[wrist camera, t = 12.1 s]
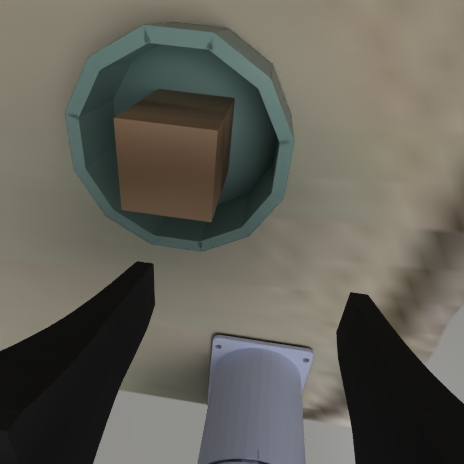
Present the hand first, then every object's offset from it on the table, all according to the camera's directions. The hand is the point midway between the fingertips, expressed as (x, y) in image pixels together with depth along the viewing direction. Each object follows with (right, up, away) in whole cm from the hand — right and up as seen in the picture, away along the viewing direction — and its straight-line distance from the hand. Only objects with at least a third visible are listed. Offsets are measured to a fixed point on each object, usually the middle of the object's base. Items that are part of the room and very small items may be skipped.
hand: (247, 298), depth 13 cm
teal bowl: (-3, +8, +7) cm, 11 cm away
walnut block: (-3, +8, +6) cm, 11 cm away
